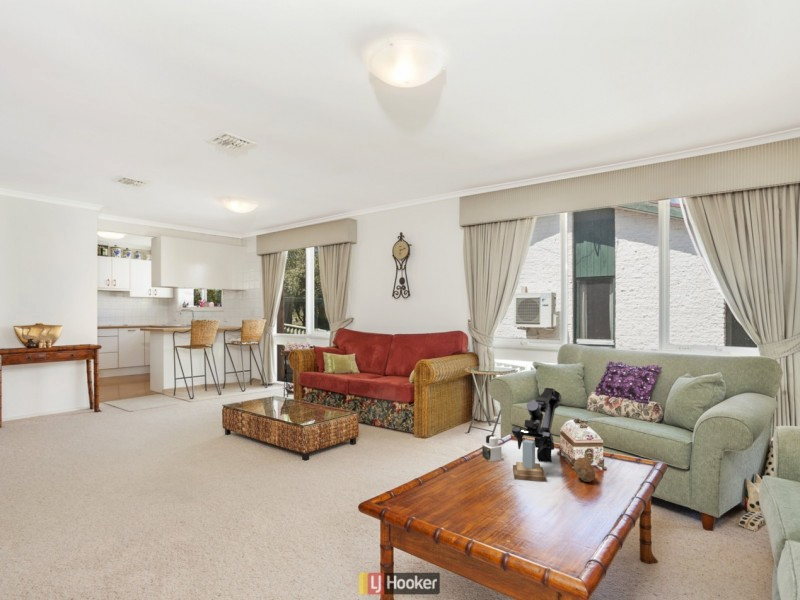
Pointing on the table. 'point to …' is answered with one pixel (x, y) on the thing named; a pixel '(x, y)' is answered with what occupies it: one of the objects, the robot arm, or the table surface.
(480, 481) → the table surface
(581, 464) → the brown rock
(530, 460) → the block
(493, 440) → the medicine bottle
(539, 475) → the plinth
